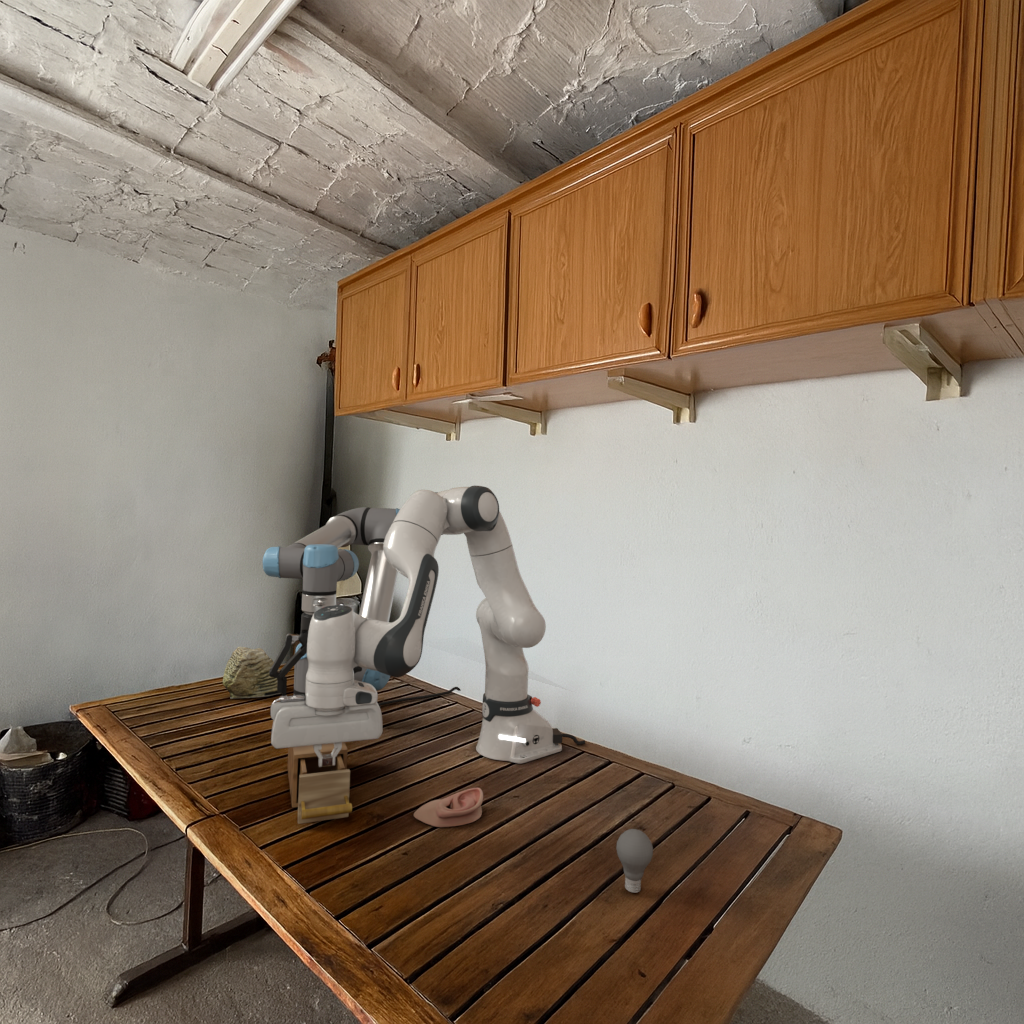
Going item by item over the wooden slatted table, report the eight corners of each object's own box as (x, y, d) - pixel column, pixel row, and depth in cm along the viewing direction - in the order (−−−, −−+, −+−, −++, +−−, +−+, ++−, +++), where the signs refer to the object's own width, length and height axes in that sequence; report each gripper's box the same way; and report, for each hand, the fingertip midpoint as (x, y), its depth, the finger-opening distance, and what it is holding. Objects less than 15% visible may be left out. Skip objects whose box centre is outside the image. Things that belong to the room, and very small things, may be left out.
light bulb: (610, 879, 108) (613, 822, 108) (644, 879, 109) (647, 822, 109) (619, 902, 102) (622, 840, 102) (655, 901, 103) (658, 840, 103)
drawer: (352, 831, 119) (354, 783, 119) (299, 839, 116) (301, 790, 115) (337, 777, 141) (338, 737, 141) (292, 782, 138) (294, 741, 138)
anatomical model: (408, 802, 124) (427, 778, 135) (407, 822, 124) (427, 796, 136) (473, 812, 122) (488, 786, 133) (473, 832, 122) (487, 805, 133)
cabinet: (345, 800, 133) (347, 749, 132) (292, 807, 129) (294, 755, 128) (334, 762, 151) (336, 717, 151) (287, 768, 147) (289, 721, 147)
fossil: (218, 695, 195) (220, 647, 195) (278, 685, 208) (279, 640, 207) (228, 703, 189) (230, 653, 188) (289, 692, 201) (290, 645, 201)
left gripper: (260, 616, 137) (256, 714, 137) (376, 613, 146) (372, 705, 146) (260, 610, 144) (256, 703, 144) (371, 608, 153) (367, 695, 153)
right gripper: (271, 702, 113) (268, 779, 113) (386, 693, 121) (383, 765, 121) (270, 691, 119) (267, 764, 119) (380, 684, 126) (377, 753, 127)
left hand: (315, 704), depth 145 cm, fingers open, 13 cm apart
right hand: (326, 765), depth 120 cm, fingers closed
